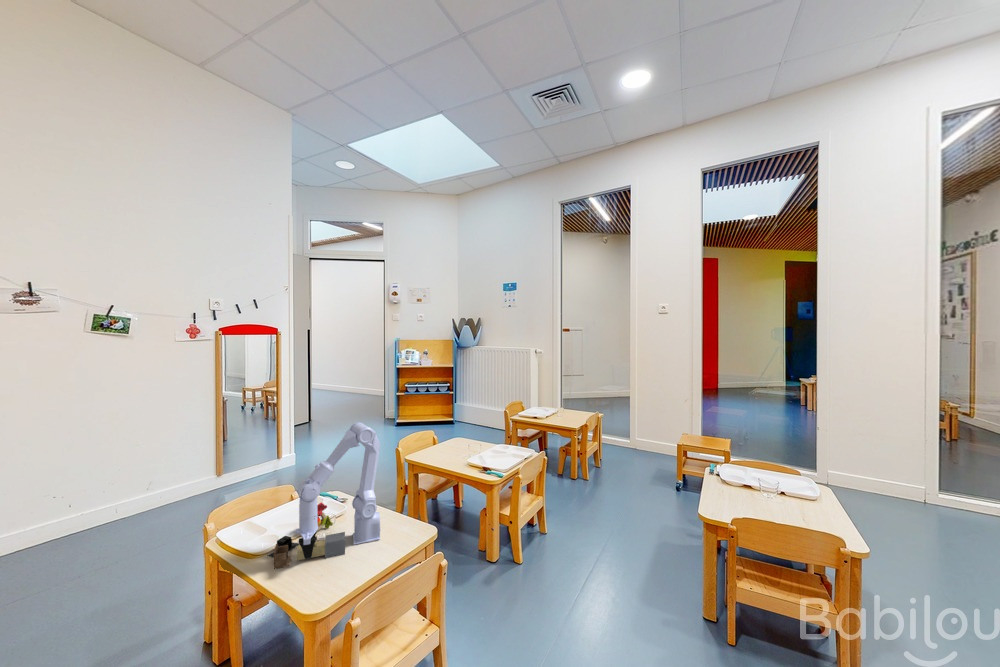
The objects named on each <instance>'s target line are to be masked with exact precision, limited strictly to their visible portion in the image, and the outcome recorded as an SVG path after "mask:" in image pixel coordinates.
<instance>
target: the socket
mask: <svg viewBox="0 0 1000 667" xmlns="http://www.w3.org/2000/svg"><path fill="white" fill-rule="evenodd" d="M291 561H292V555H291V554H290V555H289V552H288V545H284V546H279V547H278V544H277V543H276V544H275V546H274V558H273V570H277V569H282V568H286V567H290V565H291Z"/></svg>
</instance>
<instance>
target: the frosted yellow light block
mask: <svg viewBox="0 0 1000 667" xmlns="http://www.w3.org/2000/svg"><path fill="white" fill-rule="evenodd" d="M296 548H297V549H296V561H300V560H301V561H302V560H309V559H310V560H311V559H312V558H317V557H321V556H325V539H324V540H317V541H316V542H315V544H314V547H313V552H312V556H311V557H309V558H305V557H304V554H303V550H302V547H301V546H300V545H298V546H297V547H296Z"/></svg>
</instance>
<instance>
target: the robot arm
mask: <svg viewBox="0 0 1000 667" xmlns="http://www.w3.org/2000/svg"><path fill="white" fill-rule="evenodd" d="M359 443H360V444H361V445H362V446H363V447H364V454H363V460H362V461H363V462H362V466H361V467H362V468H361V474H360V475H361V476H360V482H359V487H358V490H356V492H355V496H354V498H353V500H352V501H351V502H352V503H351V505H352V508H353V509H354V517H353V518H354V528H353V529H354V530H353V531H354V532H353V533H352V537H353V538H352V539H353V540H352V541H353V545H361V544H365V543H369V542H375V541H380V540H381V516H380V512H379V511H377V510H378V506H377V503H376V502H377V501H376V500H377V498H376V493H375V491H374V489H375V484H376V476H377V469H378V464H379V457H380V448H381V442H380V440H379V437H378V436H377V431H375V430H374V429H373V428H371V427H370V426H367V425H366V424H365V423H363V422H354V423H352V425H350V428H349V429H348V430H346V432H345V433H344V435H343V437H342V439H341V440H340V442H339V443H338V444H337V445H336V447H335V448H334V449H333V451H332V452H331V453H330V455H329V456H328V458H327V459H326V460H324V461H320V463H319V464H316V465H315V466H314V468H315V469H314V470H313V471H312V472H311V474H310V475H309V476H308V477H306V478H305V480H304V481H302V482H301V483H300V484H299V485H298V487H297V489H296V492H297V494H298V495H299V502H298V503H299V505H298V514H299V515H298V517H299V518H298V520H299V522H298V524H299V528H296V529H295V534H299V535H300V536H301V537H300V538H298V544H299V545H300V546H301V547H302V550H303V554H304V557H305V558H309V557H311V556H312V552H313V547H314V544H315V542H317V541H318V540H317V539H318V536H316V535H317V533H318V531H319V530H318V525H317V517H318V516H317V505H318V497H319V496H320V493H321V489H322V487H323V486H324V484H325V483H326V482H327V481H328V479H330V477H331V476H332V474H333V473H334V471H335V465H337V464H338V462H339V461H340V460H341V459H342V458H343V457H344V456H345V455H346V454H347V452H348V451H349V450H350V449H353V448H357V447H360V444H359Z"/></svg>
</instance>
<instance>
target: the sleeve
mask: <svg viewBox="0 0 1000 667" xmlns="http://www.w3.org/2000/svg"><path fill="white" fill-rule="evenodd" d="M324 540H325V555H324V558H325V559H330V558H334V557H340V556H345V555H346V532H345V531H343V532H335V533H332V534H331V533H330V534H326V535H325V539H324Z"/></svg>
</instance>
